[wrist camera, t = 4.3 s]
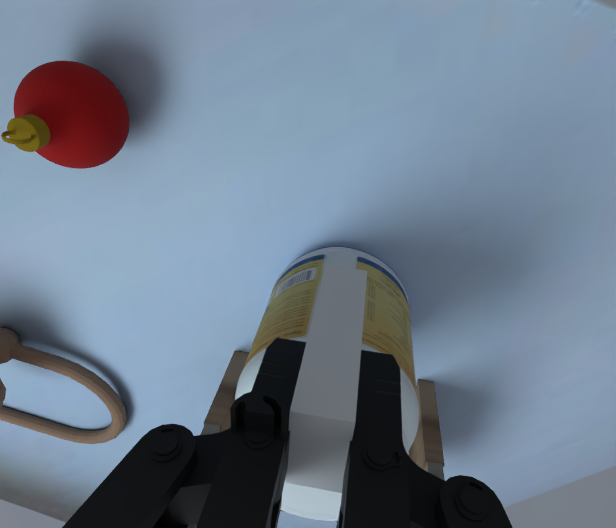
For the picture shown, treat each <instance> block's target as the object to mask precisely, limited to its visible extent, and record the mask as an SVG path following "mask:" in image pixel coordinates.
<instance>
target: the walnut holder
mask: <svg viewBox="0 0 616 528" xmlns="http://www.w3.org/2000/svg"><path fill="white" fill-rule="evenodd" d="M248 355H249V353H246V352H239V351H234V354H233V356H232V358H231V361H230V363H229V365H228V368H227V370H226V372H225V375H224V377H223V379H222V382H221V384H220V386H219V389H218V391H217V393H216V396H215V398H214V400H213V403H212V405H211V407H210V410H209V412H208V414H207V417H206V419H205V421H204V428H203V430H202V433H201V435H207V434H214V433H218V432H222V431H224V430H227V429H229V428H230V427H231V417H230V407H231V406H232V404H233V403H234V401H235V395H236V389H237V384H238V380H239V377H240V375H241V373H242V371H243V368H244V366H245V363H246V360H247V358H248ZM416 390H417V399H418V404H419V422H418V429H417V433H416V437H415V439H414V442H413V444H412V446H411V447H410V449H409V457H410V458H411V459H412V461H413V462H415V463H416V464H417V465H418V466H419V467H420V468H422V469H424V470H425V471H427V472H429V473H431V474H433V475H435V476H437V477H439V478H441V479H443V480H444V473H443V467H444V458H443V450H442V442H441V435H440V427H439V419H438V411H437V404H436V396H435V388H434V382H431V381H424V380H418V382H417V386H416ZM280 511H282V510H280ZM284 512H285V511H284ZM337 522H338V521H337Z"/></svg>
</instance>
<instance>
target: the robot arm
mask: <svg viewBox="0 0 616 528" xmlns="http://www.w3.org/2000/svg"><path fill="white" fill-rule="evenodd" d="M366 283H367V271H365V270H358V269H350V268H343V267H336V266H329V265H325V268H324V272H323V276H322V280H321V285H320V289H319V293H318V297H317V301H316V305H315V309H314V313H313V318H312V322H311V326H310V330H309V334H308V338H307V342H302V341H296V340H289V339H283V338H276V339H275V340H274V341H273V342H272V343H271V344H270V345H269V346H268V347H267V348H266V351H265V354H264V357H263V359H262V363H261V365H260V368H259V371H258V374H257V376H256V379H255V382H254V385H253V388H252V391H251V392H249V393H245V394H243V395H242V396H240V397H239V398H237V399H236V400H235V401H234V403H233V404H232V406H231V407H230V417H231V427H230V428H229V429H227V430H224V431H222V432H218V433H214V434H207V435H198V436H193V434H192V432H191V431H190V430H188V429H187V428H186V427H184V426H181V425H177V424H167V425H161V426H159V427H156V428H154V429H152V430H150V431H149V432H148V433H147V434H146V435H144V436H143V437H142V438H141V439H140V440H139V441H138V443H137V444H136V445H135V446H134V447H133V448H132V449H131V450H130V452H129V453H128V454H127V455H126V456H125V457H124V458H123V460H122V461H121V462H120V463H119V464H118V465H117V466H116V467H115V469H114V470H113V471H112V472H111V473H110V474H109V475H108V476H107V478H106V479H105V480H104V481H103V482H102V483H101V484H100V485H99V487H98V488H97V489H96V490H95V491H94V492H93V493H92V495H91V496H90V497H89V498H88V499H87V500H86V501H85V502H84V504H83V505H82V506H81V507H80V508H79V509H78V510H77V511H76V513H75V514H74V515H73V516H72V517H71V518H70V519H69V520H68V522H67V523H66V524H65V525H64V526H63V528H195V527H196V528H277V523H278V519H279V514H280V509H281V503H282V492H283V487H284V482H286V483H291V484H296V485H301V486H306V487H312V488H317V489H322V490H327V491H333V492H338V493H342V498H341V506H340V511H339V517H338V522H337V527H336V528H512V525H511V523H510V521H509V519H508V517H507V515H506V512H505V510H504V508H503V506H502V504H501V502H500V500H499V499H498V497H497V496H496V494H495V493H494V491H492V490H491V489H490V488H489V487H488V486H487V485H486V484H484V483H483V482H481V481H479V480H477V479H475V478H473V477H469V476H462V475H459V476H455V477H451V478H449V479H448V480H447V481H445V480H443V479H441V478H439V477H437V476H435V475H433V474H431V473H429V472H427V471H425V470H424V469H422V468H420V467H419V466H418V465H417V464H416V463H415V462H413V461H412V459H411V458H410V457H409V455H408V454H407V452H406V450H405V448H404V445H403V439H402V409H401V385H400V383H401V377H400V367H399V365H398V363H397V361H396V360H395V358H394V356H393V355H391V354H385V353H378V352H372V351H366V350H361V345H362V333H363V320H364V308H365V295H366ZM196 525H197V526H196Z"/></svg>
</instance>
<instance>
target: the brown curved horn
mask: <svg viewBox="0 0 616 528" xmlns="http://www.w3.org/2000/svg"><path fill="white" fill-rule="evenodd" d="M12 358H13V359H16V360H20V361H23V362H26V363H29V364H32V365H36V366H39V367H42V368H45V369H49V370H52V371H55V372H57V373H60V374H62V375H65V376H68V377H70V378H72V379H73V380H75V381H77V382H79V383H81V384H83V385H84V386H86V387H87V388H88V389H89V390H91V391H92V392H93V393H95V394H96V395H97V396H98V397H99V398H100V399H101V400H102V401H103V402H104V403H105V404H106V406H107V408H108V409H109V411H110V413H111V416H112V424H111V425H110V426H109V427H107V428H105V429H103V430H95V431H92V430H81V429H76V428H72V427H68V426H65V425H62V424H58V423H55V422H52V421H49V420H46V419H42V418H39V417H36V416H33V415H29V414H26V413H23V412H20V411H17V410H13V409H10V408H7V407H4V406H2V405H3V401H4V399H5V392H6V388H5V386H4V384H3V383H2V381H1V379H0V420H2V421H6V422H9V423H12V424H15V425H19V426H22V427H25V428H28V429H32V430H35V431H38V432H42V433H45V434H48V435H51V436H55V437H58V438H61V439H65V440H69V441H73V442H77V443H87V444H95V443H104V442H107V441H109V440H112V439H114V438H116V437H117V436H118V435H119V434H120V433H121V432H122V431H123V430H124V427H125V423H126V419H127V416H126V411H125V407H124V405H123V403H122V401H121V399H120V398H119V396H118V394H117V393H116V392H115V391H114V390H113V389H112V388H111V387H110V385H109V384H108V383H106V382H105V381H104V380H103V379H101V378H100V377H99V376H97V375H96V374H95V373H93V372H92V371H90V370H88V369H86V368H85V367H83V366H81V365H79V364H77V363H75V362H72V361H70V360H67V359H65V358H62V357H59V356H56V355H53V354H49V353H46V352H43V351H40V350H36V349H33V348H30V347H27V346H23V345H20V339H19V337H18V336H17V334H16V333H15V332H13V331H12V330H10V329H7V328H2V327H0V364H2V363H6V362H8V361H9V360H11V359H12Z"/></svg>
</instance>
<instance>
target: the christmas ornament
mask: <svg viewBox="0 0 616 528" xmlns="http://www.w3.org/2000/svg"><path fill="white" fill-rule="evenodd" d="M14 115H15V118H13V119H11V120H10V122H9V123H8V127H7V131H5V132H3V133H2V135H1V136H2V139H3V140H4V141H5V142H8V143H11V144H15V145H16V146H17V147H18V148H19V149H21V150H24V151H28V152H34V151H36V152H37V153H38V154H40V155H41V156H42V157H44V158H46V159H47V160H49V161H51V162H53V163H55V164H58V165H61V166H65V167H70V168H91V167H95V166H98V165H101V164H103V163H105V162H107V161H109V160H110V159H112V158H113V157H114V156H115V155H116V154H117V153H118V152H119V151H120V150H121V148H122V147H123V145H124V143H125V141H126V139H127V136H128V131H129V114H128V109H127V106H126V103H125V101H124V99H123V97H122V95H121V94H120V92H119V90H118V89H117V88H116V86H115V85H114V84H113V83H112V82H111V81H110V80H109V79H108V78H107V77H105V76H104V75H103V74H101V73H100V72H99V71H97V70H95V69H93V68H91V67H89V66H87V65H84V64H81V63H77V62H72V61H54V62H49V63H46V64H43V65H41V66H38V67H37V68H35V69H33V70H32V71H31V72H29V73H28V74H27V75H26V76H25V77H24V78H23V80H22V81H21V83H20V85H19V86H18V89H17V91H16V94H15V98H14ZM8 135H9V137H10V138H6V137H5V136H8Z"/></svg>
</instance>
